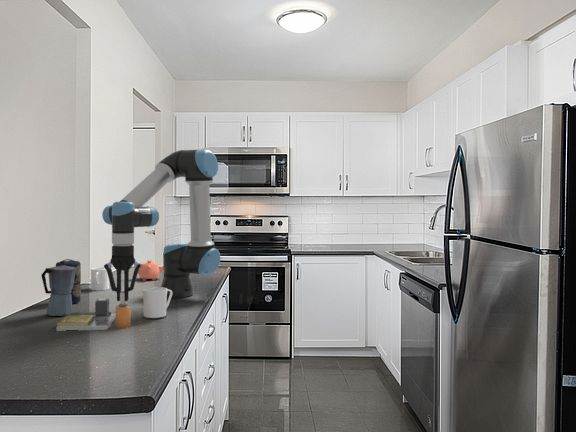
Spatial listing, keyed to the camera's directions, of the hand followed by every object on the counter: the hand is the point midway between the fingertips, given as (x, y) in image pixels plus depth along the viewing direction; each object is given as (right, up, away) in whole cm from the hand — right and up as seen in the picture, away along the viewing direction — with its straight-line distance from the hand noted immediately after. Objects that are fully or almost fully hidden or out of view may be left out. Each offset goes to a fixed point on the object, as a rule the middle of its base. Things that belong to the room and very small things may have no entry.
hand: (122, 309), depth 183 cm
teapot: (-13, 0, +84) cm, 85 cm away
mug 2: (+11, -4, +6) cm, 13 cm away
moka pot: (-25, -3, +6) cm, 26 cm away
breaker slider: (-7, -2, -1) cm, 7 cm away
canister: (-31, -2, +26) cm, 41 cm away
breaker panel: (-10, -4, -6) cm, 12 cm away
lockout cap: (+3, -4, -8) cm, 10 cm away
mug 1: (-29, -1, +54) cm, 61 cm away
